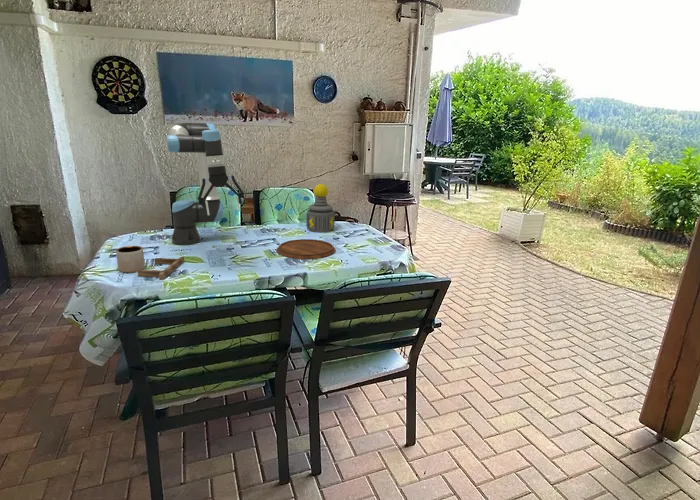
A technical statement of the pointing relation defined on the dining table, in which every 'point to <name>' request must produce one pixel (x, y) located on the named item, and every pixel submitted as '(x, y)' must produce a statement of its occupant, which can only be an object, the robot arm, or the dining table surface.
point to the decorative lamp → (320, 212)
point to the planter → (130, 259)
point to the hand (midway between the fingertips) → (224, 213)
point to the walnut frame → (162, 274)
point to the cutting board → (306, 249)
